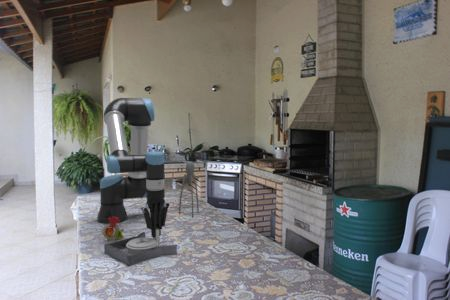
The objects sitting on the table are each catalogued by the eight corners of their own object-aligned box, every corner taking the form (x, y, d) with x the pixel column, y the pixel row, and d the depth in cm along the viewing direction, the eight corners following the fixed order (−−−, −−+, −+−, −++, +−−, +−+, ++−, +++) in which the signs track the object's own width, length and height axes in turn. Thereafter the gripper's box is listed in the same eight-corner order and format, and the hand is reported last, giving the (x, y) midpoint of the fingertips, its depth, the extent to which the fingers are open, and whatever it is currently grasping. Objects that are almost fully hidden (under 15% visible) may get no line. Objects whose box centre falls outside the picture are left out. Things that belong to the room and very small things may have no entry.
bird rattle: (110, 247, 165) (129, 236, 169) (99, 226, 162) (118, 215, 165) (107, 243, 170) (125, 232, 174) (96, 222, 167) (115, 212, 171)
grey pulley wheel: (144, 244, 163) (143, 233, 163) (164, 251, 155) (164, 239, 155) (119, 253, 153) (119, 241, 153) (140, 260, 145) (139, 247, 145)
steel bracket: (101, 251, 155) (100, 242, 154) (144, 239, 169) (144, 231, 169) (133, 268, 138) (133, 258, 137) (178, 253, 152) (177, 245, 152)
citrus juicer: (193, 217, 205) (193, 162, 202) (175, 216, 207) (175, 162, 204) (198, 212, 216) (198, 160, 213) (182, 211, 218) (181, 159, 215)
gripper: (147, 192, 150) (148, 250, 152) (173, 188, 159) (173, 242, 161) (136, 189, 155) (137, 245, 157) (162, 185, 164) (163, 238, 167)
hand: (156, 244), depth 159 cm, fingers closed
